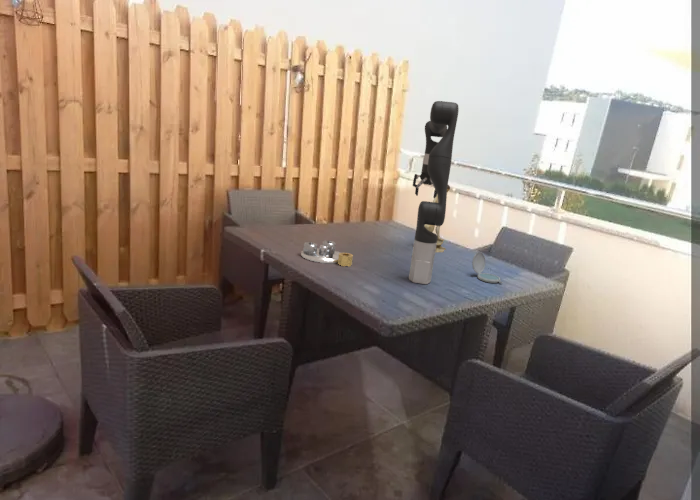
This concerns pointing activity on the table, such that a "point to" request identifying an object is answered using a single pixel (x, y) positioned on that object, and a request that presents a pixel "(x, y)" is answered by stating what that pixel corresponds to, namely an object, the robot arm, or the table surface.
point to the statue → (437, 229)
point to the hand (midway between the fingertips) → (425, 196)
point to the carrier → (320, 252)
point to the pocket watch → (479, 267)
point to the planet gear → (345, 259)
